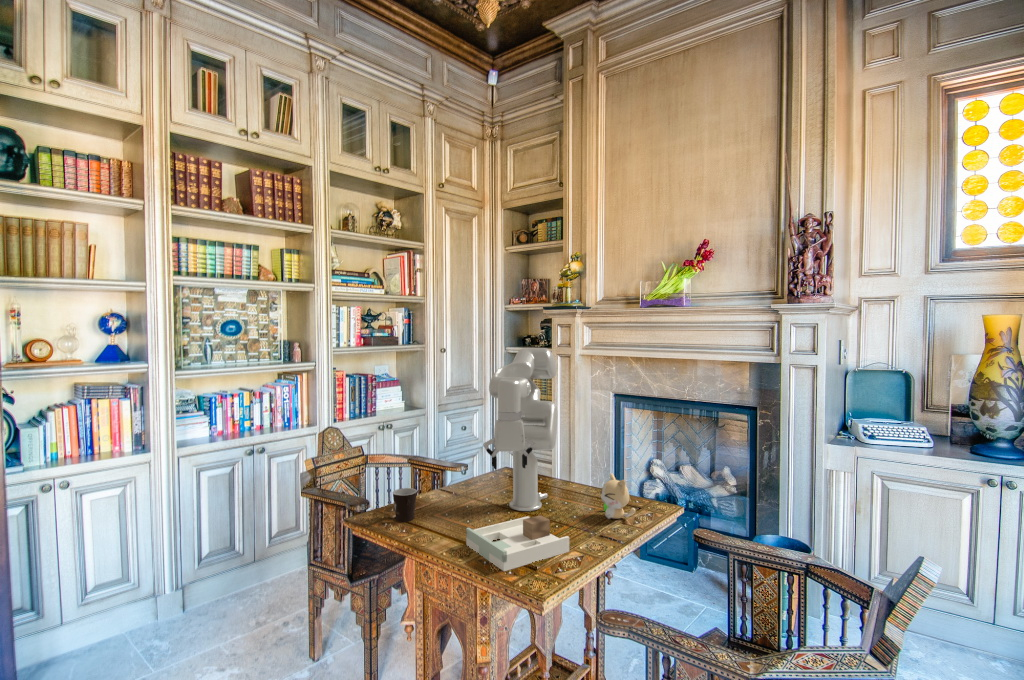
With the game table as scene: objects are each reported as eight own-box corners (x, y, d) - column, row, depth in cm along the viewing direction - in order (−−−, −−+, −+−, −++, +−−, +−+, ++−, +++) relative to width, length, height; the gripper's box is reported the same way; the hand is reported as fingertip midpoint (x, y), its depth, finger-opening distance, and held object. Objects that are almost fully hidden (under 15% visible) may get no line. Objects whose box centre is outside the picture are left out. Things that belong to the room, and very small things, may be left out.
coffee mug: (396, 514, 195) (396, 488, 195) (419, 515, 195) (419, 488, 195) (387, 526, 183) (387, 498, 183) (412, 526, 183) (412, 498, 183)
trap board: (528, 529, 180) (527, 513, 180) (569, 551, 162) (569, 533, 162) (466, 545, 167) (466, 528, 167) (503, 571, 149) (503, 552, 148)
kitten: (593, 511, 198) (593, 472, 197) (617, 509, 200) (617, 469, 200) (611, 525, 183) (611, 483, 183) (636, 522, 186) (636, 480, 186)
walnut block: (540, 530, 172) (540, 515, 172) (549, 535, 168) (549, 519, 168) (523, 535, 169) (522, 519, 169) (532, 540, 164) (532, 524, 164)
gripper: (533, 414, 179) (533, 464, 180) (482, 415, 177) (482, 466, 177) (536, 417, 172) (536, 469, 172) (484, 419, 170) (484, 471, 170)
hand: (509, 467), depth 175 cm, fingers open, 9 cm apart
